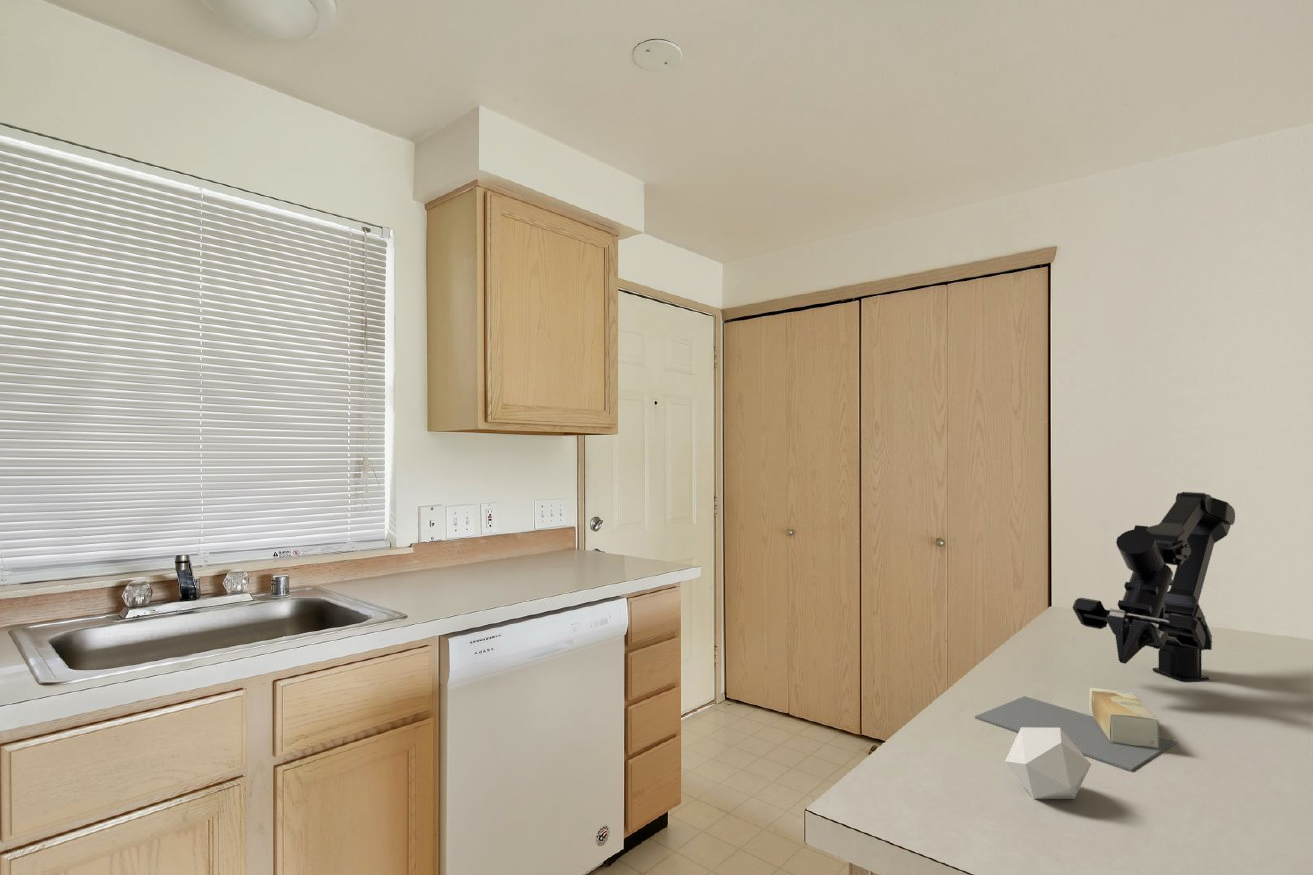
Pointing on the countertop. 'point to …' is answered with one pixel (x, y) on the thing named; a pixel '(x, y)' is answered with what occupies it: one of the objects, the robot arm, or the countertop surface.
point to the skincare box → (1124, 718)
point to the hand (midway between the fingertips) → (1122, 661)
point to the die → (1047, 763)
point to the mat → (1072, 731)
